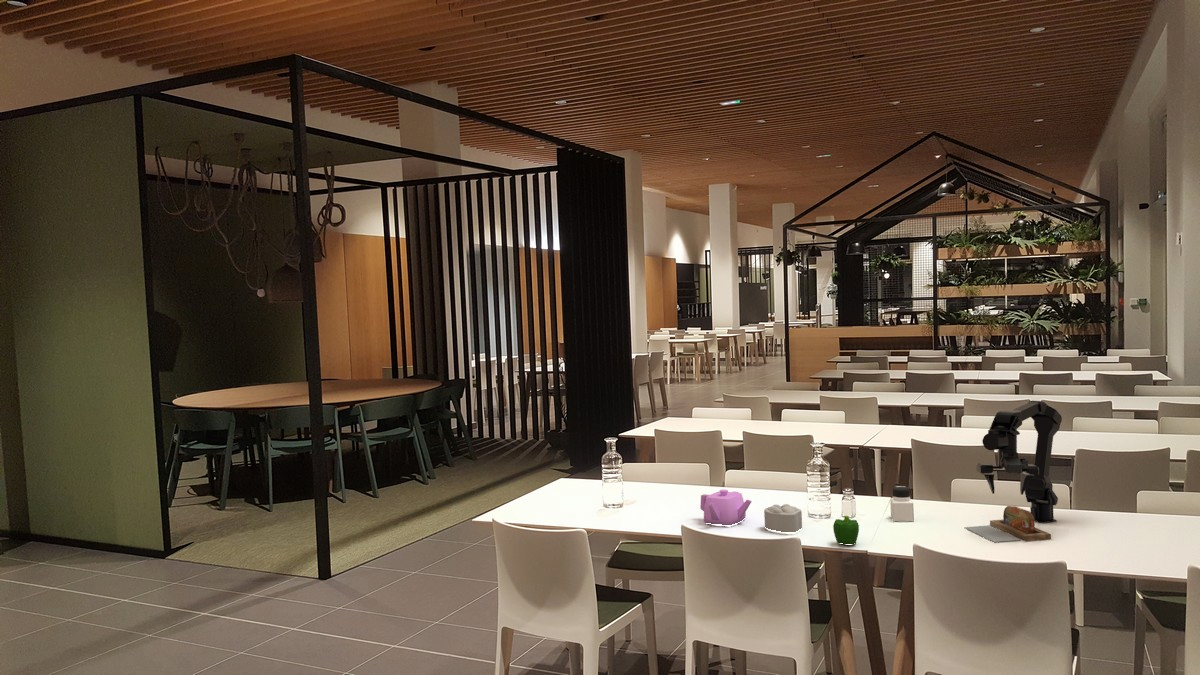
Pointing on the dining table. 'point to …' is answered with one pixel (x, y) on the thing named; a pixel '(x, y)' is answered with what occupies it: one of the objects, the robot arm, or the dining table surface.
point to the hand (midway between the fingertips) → (1007, 494)
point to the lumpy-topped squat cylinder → (783, 518)
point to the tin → (1019, 519)
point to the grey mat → (992, 534)
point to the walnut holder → (1016, 533)
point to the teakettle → (724, 507)
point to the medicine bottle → (901, 504)
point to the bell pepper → (846, 530)
